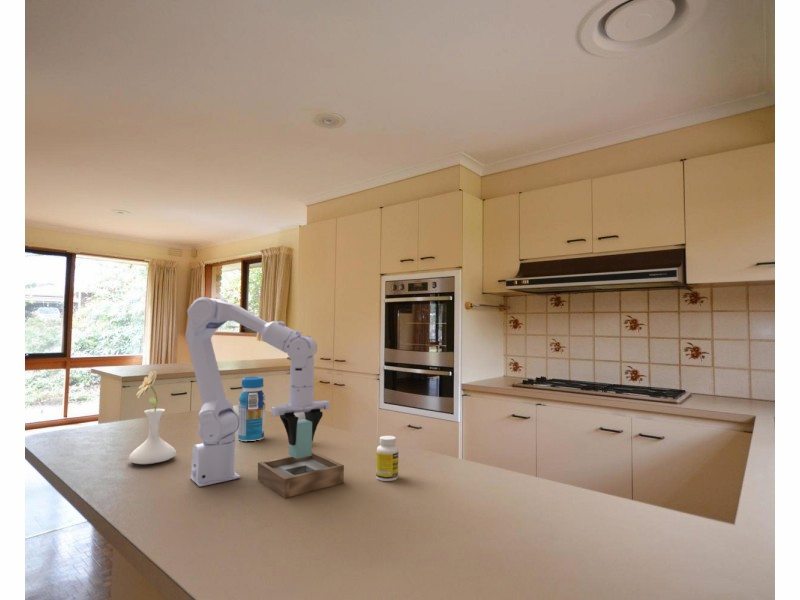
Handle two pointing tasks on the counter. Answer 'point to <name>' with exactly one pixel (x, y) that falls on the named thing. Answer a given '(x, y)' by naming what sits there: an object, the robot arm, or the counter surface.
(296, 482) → the bore box
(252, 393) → the beverage bottle
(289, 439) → the robot arm
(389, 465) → the supplement bottle
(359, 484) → the counter surface
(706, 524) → the counter surface
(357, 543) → the counter surface
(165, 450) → the flower in vase
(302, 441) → the peg
